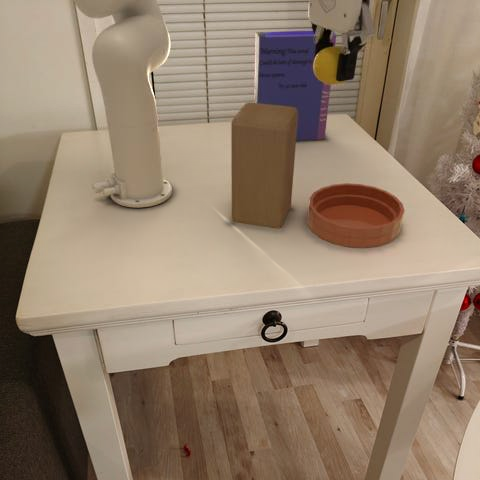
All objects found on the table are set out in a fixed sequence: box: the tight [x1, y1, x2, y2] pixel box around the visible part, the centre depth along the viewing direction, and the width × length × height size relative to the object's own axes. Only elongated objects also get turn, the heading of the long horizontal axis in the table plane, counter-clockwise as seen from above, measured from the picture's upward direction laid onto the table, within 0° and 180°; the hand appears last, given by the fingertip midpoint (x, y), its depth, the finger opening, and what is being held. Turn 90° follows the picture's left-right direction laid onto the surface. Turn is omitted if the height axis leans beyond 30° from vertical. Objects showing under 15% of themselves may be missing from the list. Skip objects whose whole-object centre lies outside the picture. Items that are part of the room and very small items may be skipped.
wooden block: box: [230, 101, 298, 229], centre depth 99 cm, size 10×10×20 cm
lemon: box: [313, 45, 345, 86], centre depth 85 cm, size 8×5×5 cm
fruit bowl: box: [306, 182, 405, 249], centre depth 101 cm, size 17×17×4 cm
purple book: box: [253, 30, 337, 142], centre depth 128 cm, size 17×5×24 cm, turn 98°
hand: (333, 73), depth 86 cm, fingers closed on lemon, 5 cm apart
